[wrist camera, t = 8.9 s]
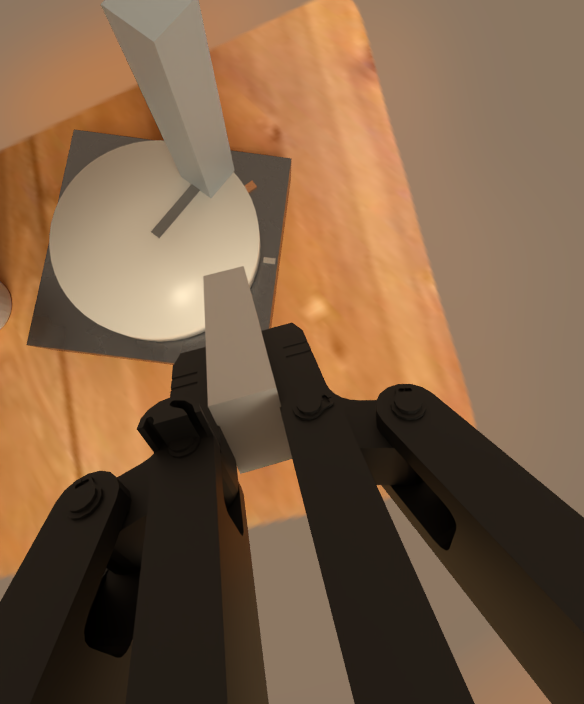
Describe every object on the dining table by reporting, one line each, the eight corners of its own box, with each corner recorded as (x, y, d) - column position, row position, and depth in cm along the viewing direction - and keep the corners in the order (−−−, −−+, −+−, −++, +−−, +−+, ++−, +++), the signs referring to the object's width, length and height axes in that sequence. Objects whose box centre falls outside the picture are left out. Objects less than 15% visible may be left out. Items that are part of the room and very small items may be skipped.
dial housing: (51, 349, 30) (25, 344, 27) (93, 153, 32) (72, 128, 29) (264, 376, 30) (262, 374, 27) (290, 180, 33) (291, 157, 29)
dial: (178, 381, 27) (67, 370, 13) (24, 263, 28) (-236, 133, 14) (298, 230, 29) (314, 77, 15) (151, 123, 29) (34, -118, 16)
